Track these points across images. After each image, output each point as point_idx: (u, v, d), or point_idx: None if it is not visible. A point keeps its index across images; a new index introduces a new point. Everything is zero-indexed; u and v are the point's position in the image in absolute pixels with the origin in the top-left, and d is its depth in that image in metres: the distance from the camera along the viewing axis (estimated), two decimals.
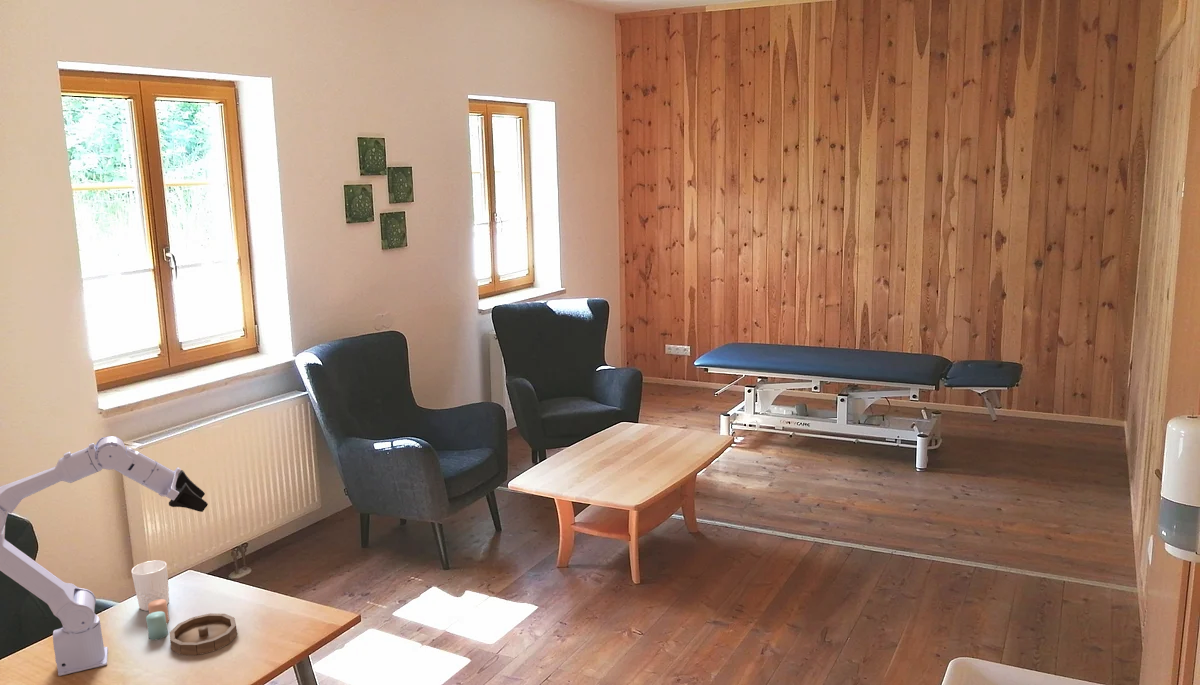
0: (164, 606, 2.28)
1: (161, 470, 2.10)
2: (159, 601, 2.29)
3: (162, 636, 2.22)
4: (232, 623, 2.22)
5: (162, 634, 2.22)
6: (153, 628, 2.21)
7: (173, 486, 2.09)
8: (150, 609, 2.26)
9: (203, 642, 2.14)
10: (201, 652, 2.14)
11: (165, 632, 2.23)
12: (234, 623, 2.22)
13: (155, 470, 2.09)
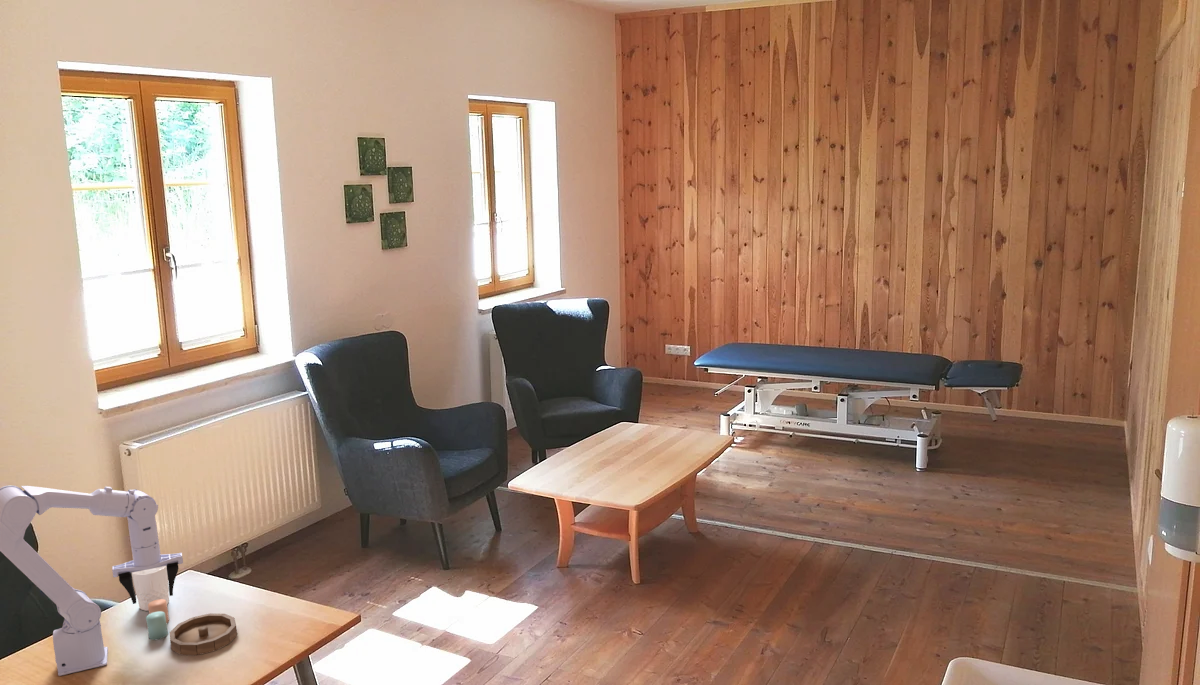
0: (164, 606, 2.28)
1: None
2: (159, 601, 2.29)
3: (162, 636, 2.22)
4: (232, 623, 2.22)
5: (162, 634, 2.22)
6: (153, 628, 2.21)
7: None
8: (150, 609, 2.26)
9: (203, 642, 2.14)
10: (201, 652, 2.14)
11: (165, 632, 2.23)
12: (234, 623, 2.22)
13: None
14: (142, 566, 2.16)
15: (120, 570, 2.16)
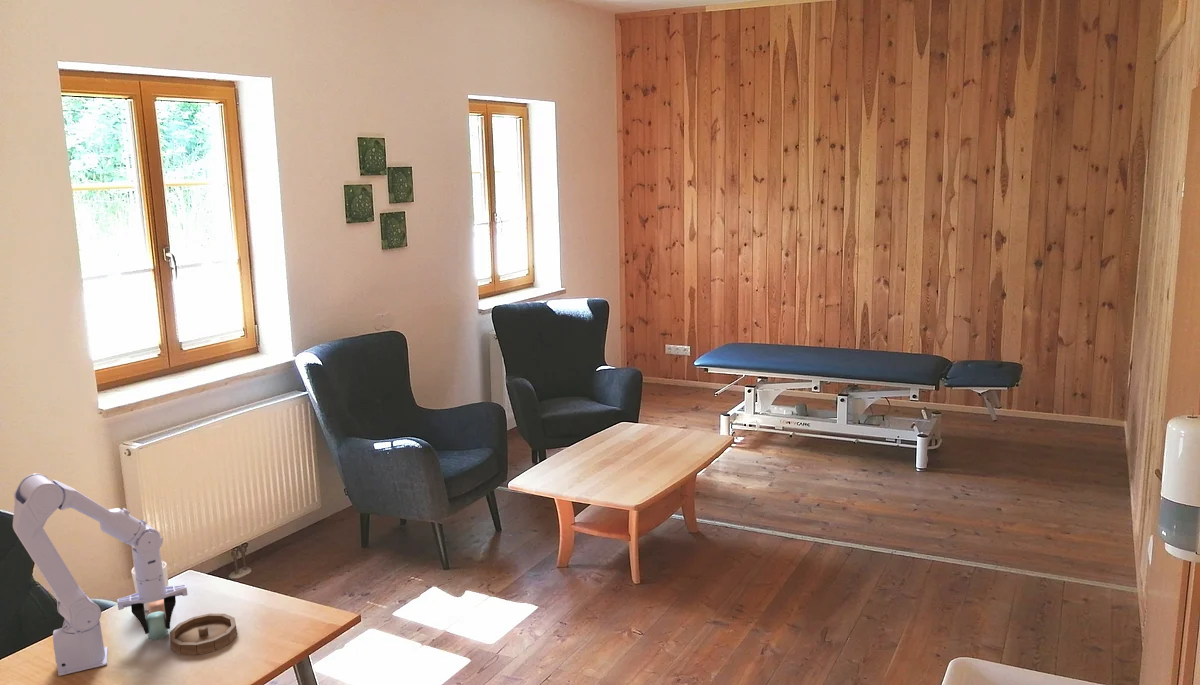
0: None
1: None
2: (159, 601, 2.29)
3: (162, 636, 2.22)
4: (232, 623, 2.22)
5: (162, 634, 2.22)
6: (153, 628, 2.21)
7: None
8: (150, 609, 2.26)
9: (203, 642, 2.14)
10: (201, 652, 2.14)
11: (165, 632, 2.23)
12: (234, 623, 2.22)
13: None
14: (147, 599, 2.18)
15: (125, 603, 2.18)
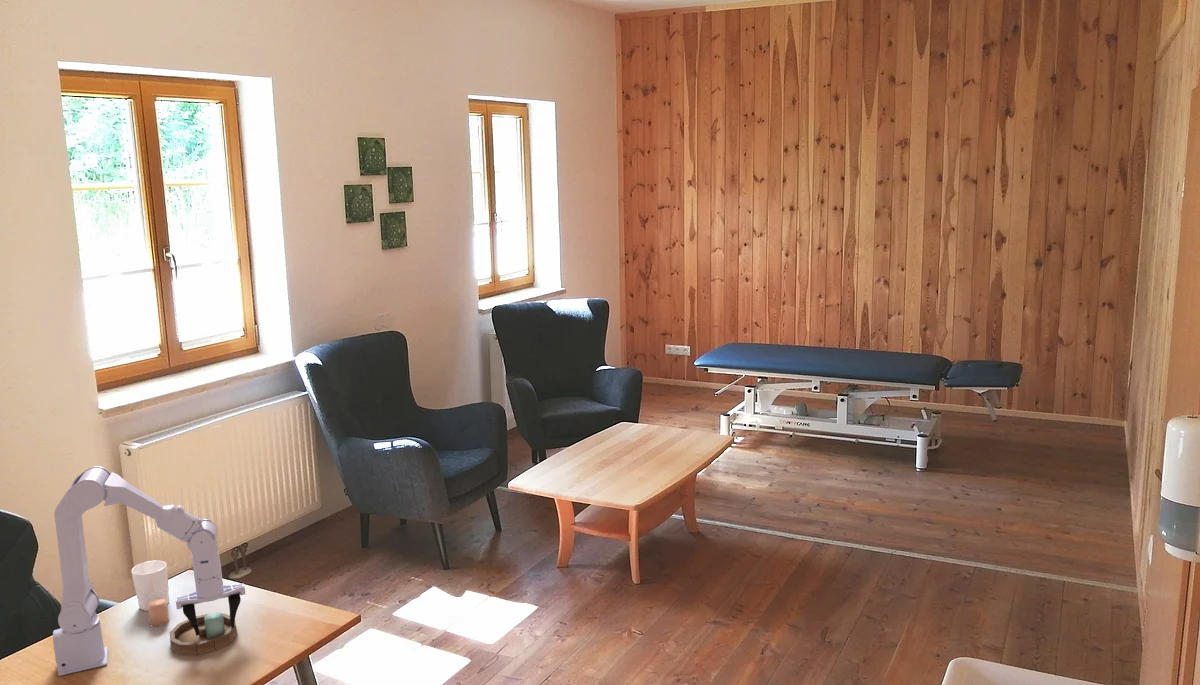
0: (164, 606, 2.28)
1: None
2: (159, 601, 2.29)
3: None
4: None
5: None
6: (212, 629, 2.17)
7: None
8: (150, 609, 2.26)
9: (203, 642, 2.14)
10: (201, 652, 2.14)
11: None
12: None
13: None
14: (206, 598, 2.14)
15: (183, 602, 2.14)
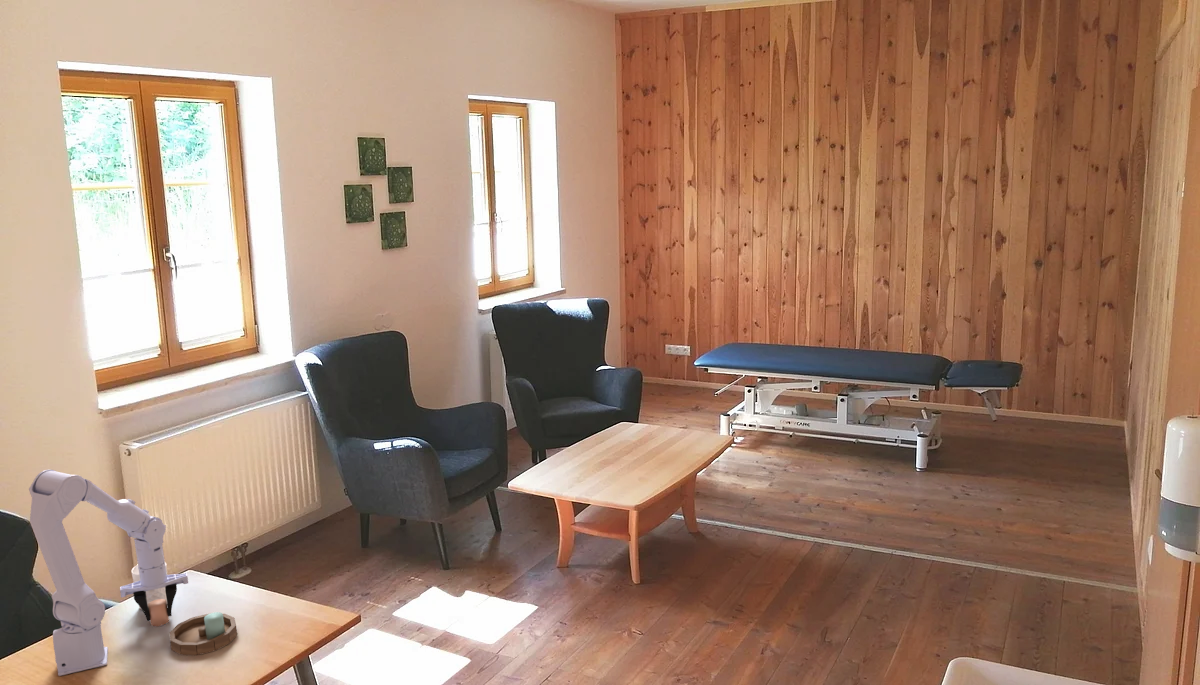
0: (164, 606, 2.28)
1: None
2: (159, 601, 2.29)
3: None
4: (232, 623, 2.22)
5: None
6: (212, 629, 2.17)
7: None
8: (150, 609, 2.26)
9: (203, 642, 2.14)
10: (201, 652, 2.14)
11: None
12: (234, 623, 2.22)
13: None
14: (149, 586, 2.24)
15: (128, 590, 2.24)
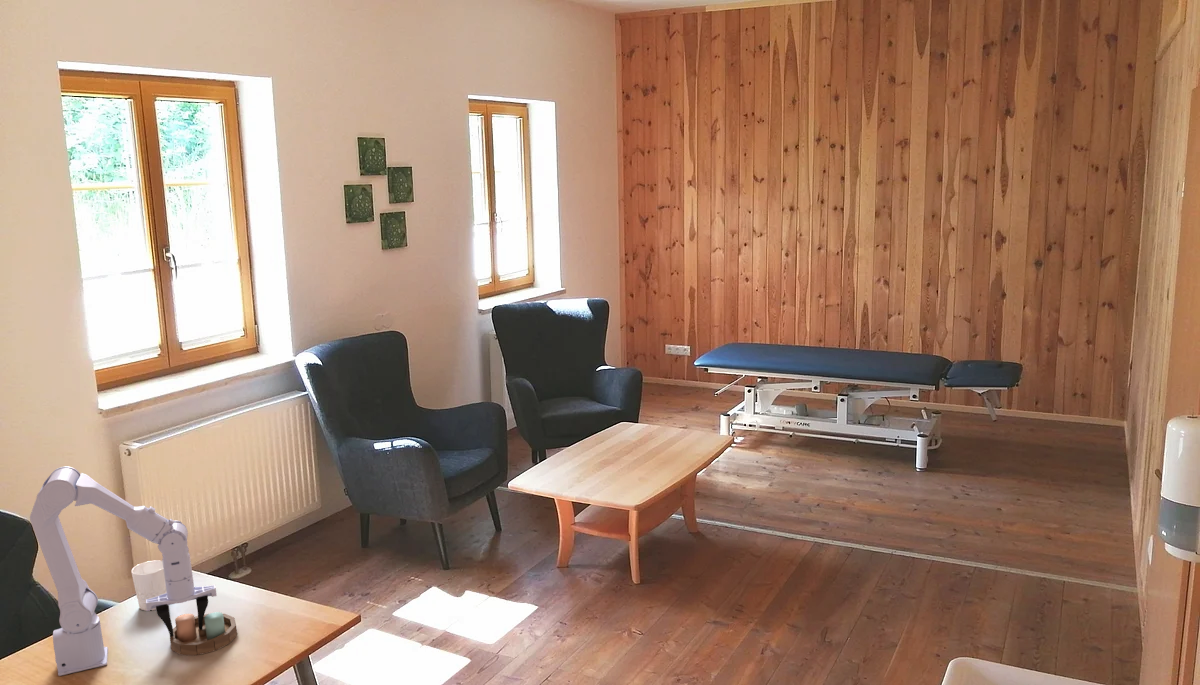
0: (193, 621, 2.18)
1: None
2: (186, 616, 2.19)
3: None
4: (232, 623, 2.22)
5: None
6: (212, 629, 2.17)
7: None
8: (178, 624, 2.17)
9: (203, 642, 2.14)
10: (201, 652, 2.14)
11: None
12: (234, 623, 2.22)
13: None
14: (176, 599, 2.14)
15: (154, 603, 2.14)
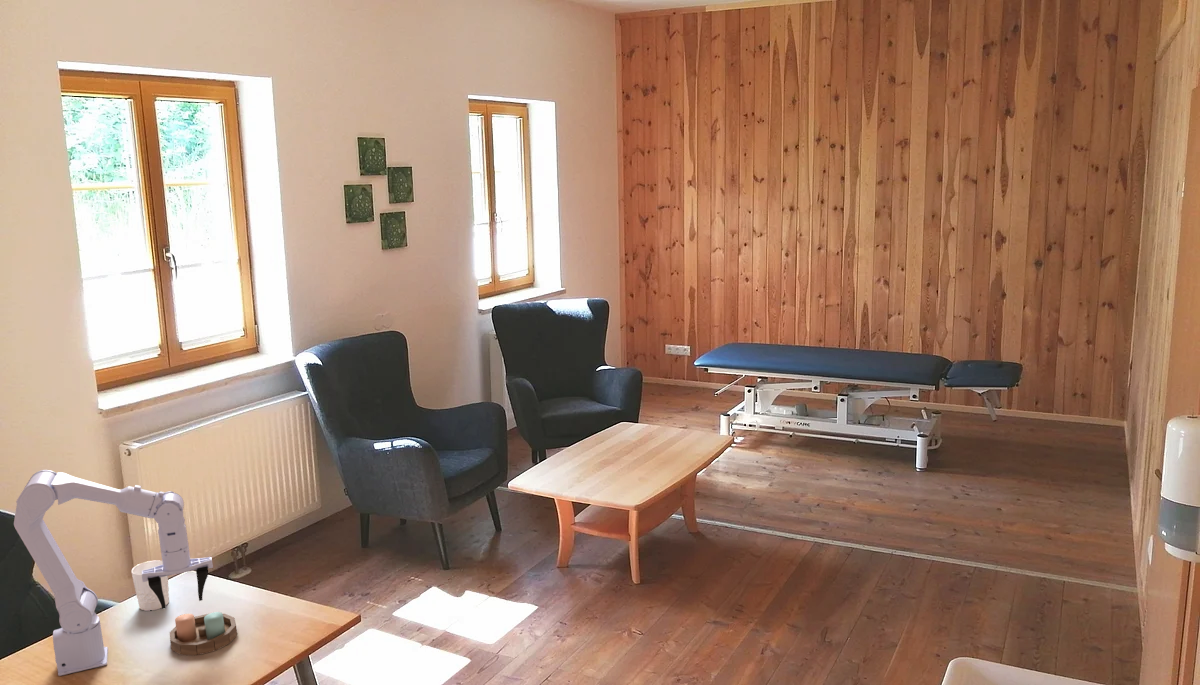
0: (192, 621, 2.18)
1: None
2: (186, 616, 2.19)
3: None
4: (232, 623, 2.22)
5: None
6: (212, 629, 2.17)
7: None
8: (178, 624, 2.17)
9: (203, 642, 2.14)
10: (201, 652, 2.14)
11: None
12: (234, 623, 2.22)
13: None
14: (172, 570, 2.12)
15: (150, 574, 2.12)
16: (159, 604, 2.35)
